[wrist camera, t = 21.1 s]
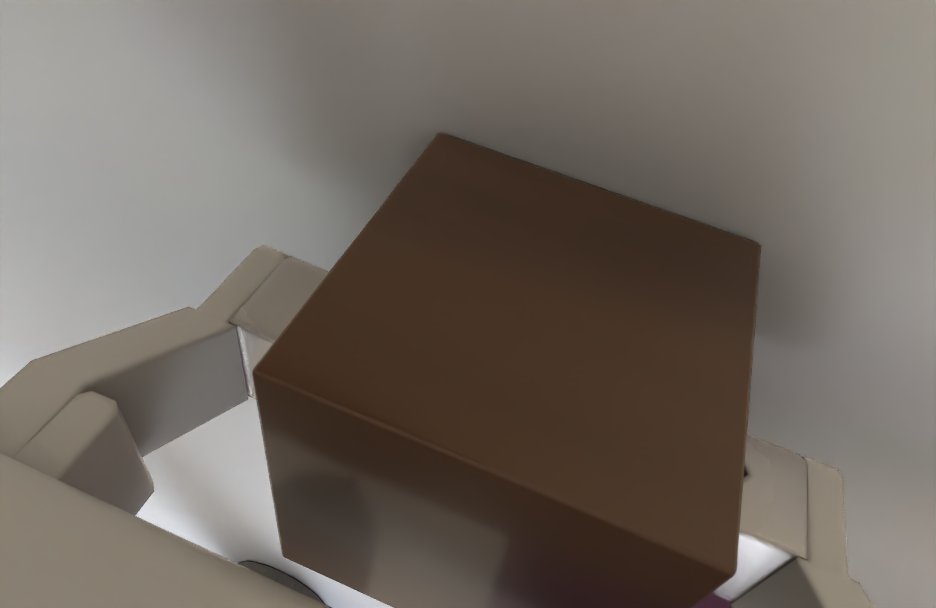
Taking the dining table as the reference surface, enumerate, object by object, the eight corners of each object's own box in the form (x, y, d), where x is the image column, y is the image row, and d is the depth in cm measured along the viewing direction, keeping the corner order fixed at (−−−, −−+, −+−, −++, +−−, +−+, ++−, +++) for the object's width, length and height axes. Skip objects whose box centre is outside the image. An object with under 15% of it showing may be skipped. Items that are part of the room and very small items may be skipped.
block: (438, 129, 10) (247, 370, 6) (763, 243, 9) (738, 576, 6) (410, 336, 13) (280, 556, 10) (640, 427, 13) (583, 695, 9)
